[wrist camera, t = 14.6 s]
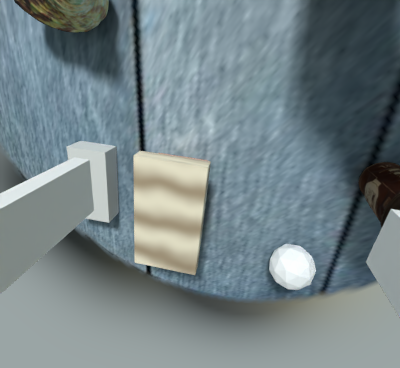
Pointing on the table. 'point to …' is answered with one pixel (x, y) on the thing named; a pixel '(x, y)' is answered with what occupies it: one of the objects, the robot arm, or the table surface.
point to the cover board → (169, 210)
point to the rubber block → (100, 177)
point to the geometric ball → (292, 267)
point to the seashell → (67, 13)
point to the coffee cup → (381, 188)
